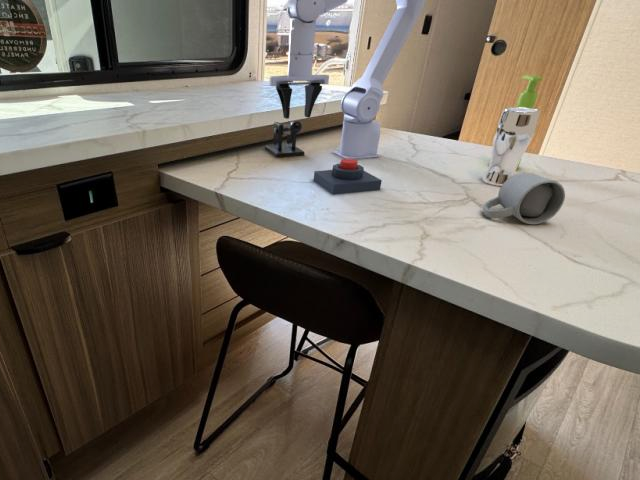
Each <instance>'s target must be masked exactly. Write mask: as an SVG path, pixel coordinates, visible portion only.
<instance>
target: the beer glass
mask: <svg viewBox="0 0 640 480" xmlns="http://www.w3.org/2000/svg"><path fill="white" fill-rule="evenodd" d="M540 115H541V109H538V108H534V107H533V108H525V107H516V106H506V107H504V108H503V110H502V112H501V115H500V118H499V120H498V123H497V126H496V129H495V132H494V136H493V142H492V148H491V156H490V161H489V165H488V168H487V170H486V172H485V173H484V175H483V178H482V181H483V183H485V184H489V185H491V186H498V187H501V186H502V185H503V183H504V182H505V181H506V180H507V179H508V178H510V177H511V176H513V175H515V174H516V171H517V170H516V168H517V165H518V163H519V161H520V159H521V160H522V159H523V158H522V157H523V156H524V155H525V152H526V150H527V149H528V147H529V146H530V143H531V141H532V139H533V137H534V134H535V132H536V128H537V124H538V121H539V117H540ZM520 162H521V161H520ZM519 164H520V163H519Z"/></svg>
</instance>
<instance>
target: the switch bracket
mask: <svg viewBox="0 0 640 480" xmlns="http://www.w3.org/2000/svg"><path fill="white" fill-rule="evenodd" d="M293 122H294V121H291V120H288V121H287V125H291V124H292V123H293ZM283 125H284V124H282V123H280V122H278V121H273V141H272V144H265V145H264V150H265V151H266V152H267V153H269V154H270V155H272V156H273V157H275V158H277V159H279V158H292V157H305V151H304V150H302V149H300V148H299V147H297V146H296V144H297V134H294V133H293V132H292V131H291V134H289V135H286V143H283V135H282V133H283Z"/></svg>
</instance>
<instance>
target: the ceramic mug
mask: <svg viewBox="0 0 640 480" xmlns="http://www.w3.org/2000/svg"><path fill="white" fill-rule="evenodd" d="M565 198H566V191H565V188H564V185H562V183H560V182H558V181H556V180H553V179H550V178H548V177H544V176H541V175H539V174H536V173H533V172H532V173H531V172H520V173H515V175H513V176H511V177H510V178H508V179H507V180H506V181H505V182H504V183H503V185H502V186H500V188H499V190H498V194H497V196H496V197H494V198H492V199H490V200H487V201H486V202H485V203H484V204H483V205H482V210H483V215H484V216H485V217H487V218H489V219H503V218H507V217H511V216H513V217H515V218H516V219H517V220H519V221H520V222H522V223H524V224H527V225H540V224H543V223H546V222H547V221H549V220H551V219H552V218H553V217H555V216H556V214H557V213H558V212H559V211H560V210H561V208H562V206H563V205H564V202H565ZM498 205H500V206H501V207H502V209H492V210H491V208H493V207H497V206H498Z"/></svg>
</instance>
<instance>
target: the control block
mask: <svg viewBox="0 0 640 480" xmlns="http://www.w3.org/2000/svg"><path fill="white" fill-rule="evenodd" d="M313 172H314V173H313V182H315V184H317V185H319V186H320V187H322V188H323V189H324V190H325V191H327V192H328V193H330V194H331V195H333V196H334V195H344V194H354V193H356V194H357V193H364V192H365V193H366V192H374V191H376V192H377V191H380V190H381V187H382V181H383V180H382V179H380V178H378V177H377V176H375V175H373V174H371V173H369V172H367V171H366V170H365V167H364V166H362V165H361V164H357V169H356V170H344V169H340V163H336V164H333V165H332V169H325V170H315V171H313Z"/></svg>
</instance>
